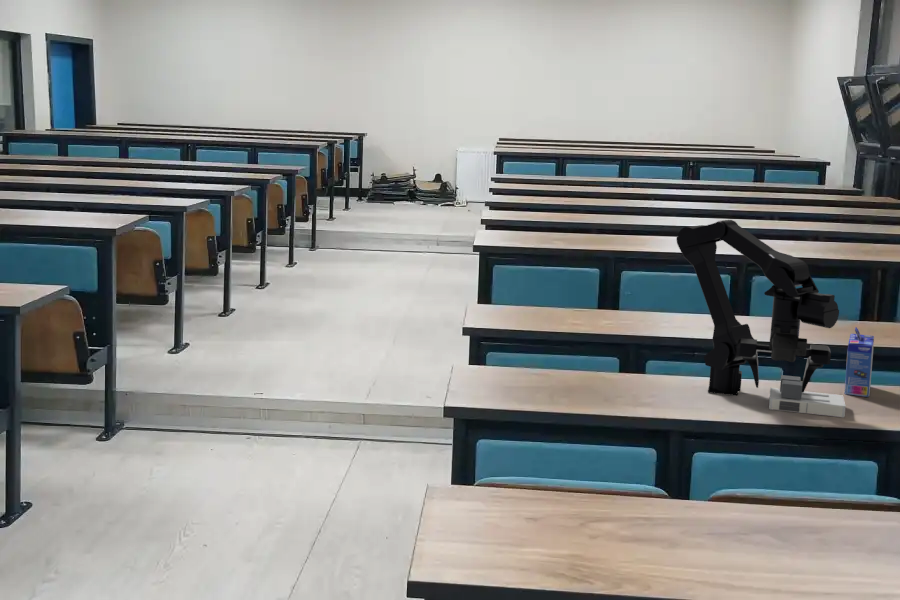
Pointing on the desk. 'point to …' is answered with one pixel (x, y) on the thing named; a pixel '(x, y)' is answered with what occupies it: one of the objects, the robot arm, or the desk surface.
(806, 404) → the box
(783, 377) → the switch far
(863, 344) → the ink cartridge box
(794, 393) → the switch near
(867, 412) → the desk surface
